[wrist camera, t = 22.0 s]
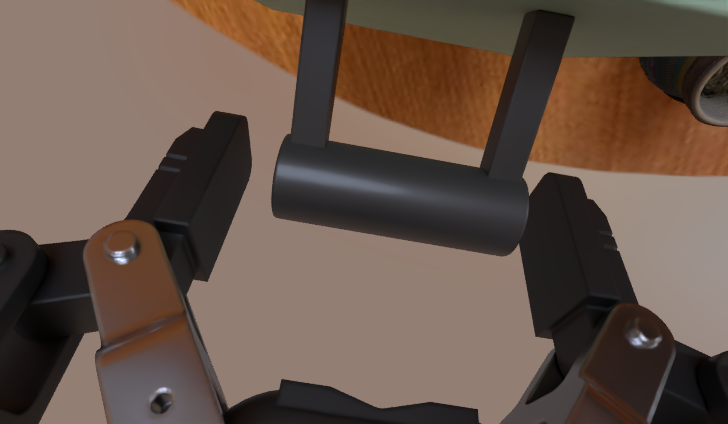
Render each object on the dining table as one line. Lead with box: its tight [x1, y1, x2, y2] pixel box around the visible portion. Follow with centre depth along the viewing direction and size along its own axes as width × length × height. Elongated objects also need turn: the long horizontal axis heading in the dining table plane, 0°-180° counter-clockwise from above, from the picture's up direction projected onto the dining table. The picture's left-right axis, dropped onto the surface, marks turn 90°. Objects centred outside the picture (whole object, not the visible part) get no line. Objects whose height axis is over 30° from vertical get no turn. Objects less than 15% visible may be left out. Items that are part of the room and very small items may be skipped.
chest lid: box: [255, 0, 728, 256], centre depth 12 cm, size 14×12×6 cm
